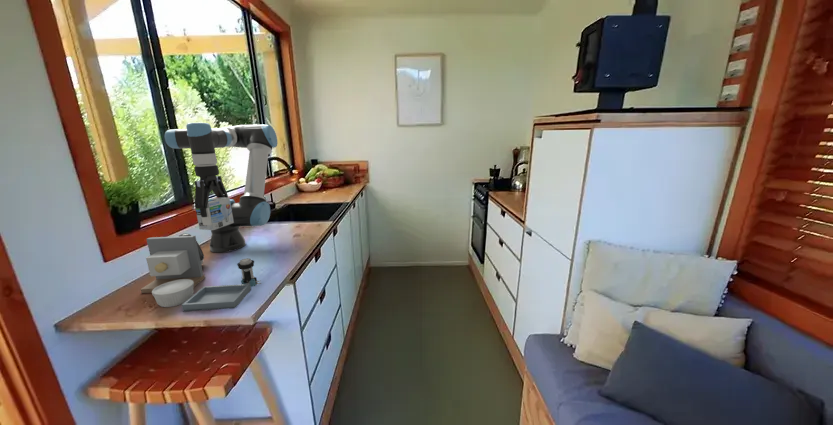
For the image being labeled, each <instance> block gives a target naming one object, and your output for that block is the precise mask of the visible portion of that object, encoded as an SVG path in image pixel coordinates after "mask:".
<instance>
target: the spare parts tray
mask: <svg viewBox="0 0 833 425" xmlns="http://www.w3.org/2000/svg"><path fill="white" fill-rule="evenodd" d="M251 291H252V287H251V286H250V284H225V285H223V284H222V285H209V286H206V285H205V286H202V287H201V288H200V289H198V291H197V292H195V293H194V294H193V296H192V297H191V298H189V299H188V300H187V301H186V302H184V303H183V304H181V308H182V312H185V313H186V312H198V311H199V312H200V311H215V310H216V311H217V310H218V311H219V310H233V309H236V308H237V307H238V306H239V305H240V304H241V302H242V301H243V300H244V299H245V298H246V296H248V295H249V293H250V292H251Z"/></svg>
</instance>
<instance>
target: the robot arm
mask: <svg viewBox="0 0 833 425" xmlns="http://www.w3.org/2000/svg"><path fill="white" fill-rule="evenodd" d="M185 126H186V128H174V129H167V130H166V131H165V133H164V141H165V143H166V145H167V146H168V147H169V148H172V149H178V150H181V149H182V150H183V149H190V152H191V159H192V162H193V165H194V173H195V176H196V177H198V178H199V180H196V181H194V186H195V190H194V191H195V193H194V203H195V204H194V208H196V209H200V212H201V217H202V222H203V225H212V223H211V218H210V212H209V208H207V204H208V199H210V193H212V192H213V194H214V195H215V197H226V198H229V194H228V193H227V192H228V191H227V190H226V188H225V185H224V183H223V179H222V176H221V175H219V174H220V172H219V171H220V170H219V166H218V165H217V164H218V159H217V155H216V150H215V149H218V148H219V149H222V148H223V149H224V148H227V147H228V148H231V147H232V148H241V149H242V148H245V149H247V150H248V152H249V153H248V160H247V161H248V162H247V169H246V170H247V171H246V176H245V177H246V178H245V184H244V192H243V194H242V195H241V196H240V197H239V202H236V201H235V199H232V198H230V203H231V209H232V215H233V221H234V223H232V224H229V225H226V226H224V227H221V228H218V229H215V230H210V232H211V233H210V234H211V236H210V242H209V250H210V252H211V253H212V252H213V253H227V252H232V251H233V252H234V251H236V250H238V249H242V248H243V247H245V246H246V240H245V238H244V236H243V234H242V232H241V231H240V228H243V227H263V226H265V225H266V224H268V221H269V219H270V216H271V206H270V204H269V203H268V202H267V199H266V198H265V197H264V196H265V187H266V177H267V170H268V160H269V155H271V154H272V152H273V148H274V149H275V148H276V147H277V146H278V137H277V133H276V131H275V129H274V128H273V126H272V125H271V124H263V123H262V124H239V125H231V126H223V127H221V128H219V127H218V128H212V126H211V124H210V123H208V122H188V123H187V124H186V125H185ZM196 209H195V210H196Z"/></svg>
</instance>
